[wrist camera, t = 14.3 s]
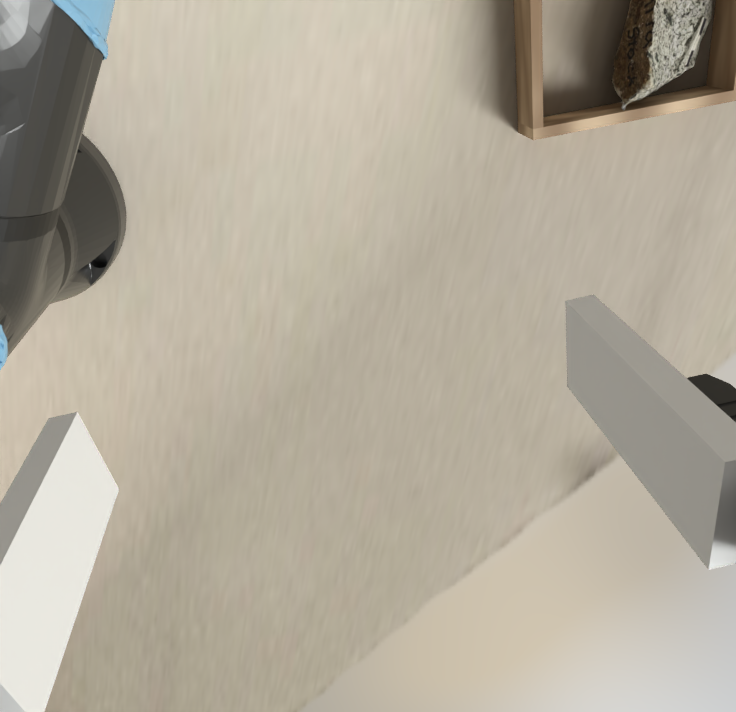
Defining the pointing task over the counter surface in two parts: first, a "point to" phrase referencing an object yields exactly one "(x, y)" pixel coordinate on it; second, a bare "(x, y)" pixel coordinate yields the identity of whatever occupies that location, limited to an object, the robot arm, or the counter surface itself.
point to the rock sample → (658, 44)
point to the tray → (724, 84)
